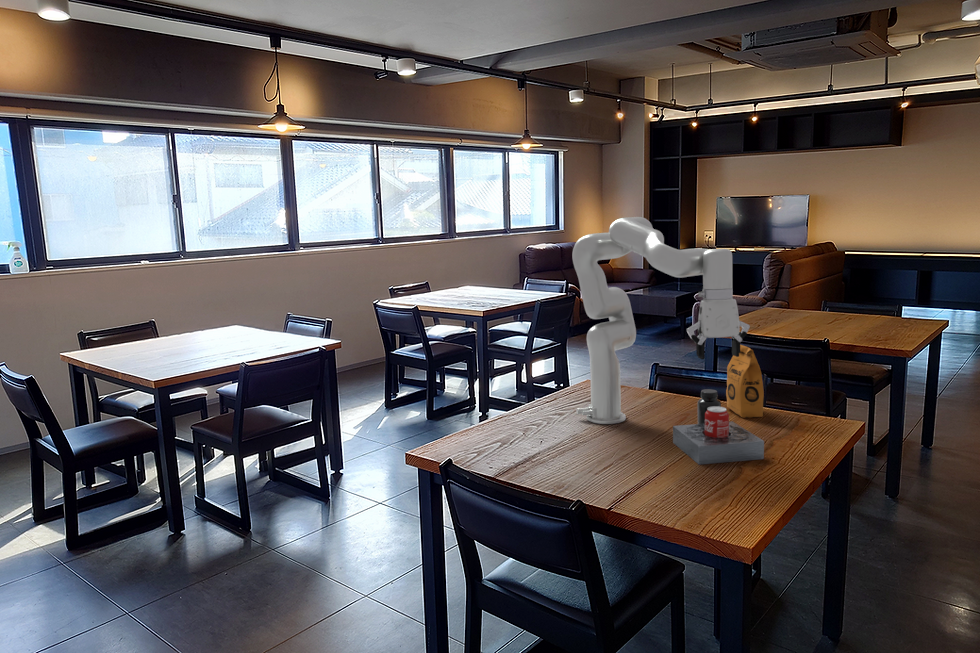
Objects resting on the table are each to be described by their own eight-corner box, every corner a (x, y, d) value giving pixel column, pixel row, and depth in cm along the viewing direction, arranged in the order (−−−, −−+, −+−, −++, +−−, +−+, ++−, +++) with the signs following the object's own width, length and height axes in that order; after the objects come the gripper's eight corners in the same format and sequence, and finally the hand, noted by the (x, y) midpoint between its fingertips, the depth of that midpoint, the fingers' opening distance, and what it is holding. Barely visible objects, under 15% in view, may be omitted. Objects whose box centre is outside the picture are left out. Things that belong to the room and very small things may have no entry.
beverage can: (708, 445, 194) (709, 404, 192) (731, 449, 190) (732, 407, 188) (701, 452, 189) (701, 410, 187) (724, 456, 185) (724, 413, 183)
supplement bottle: (718, 425, 211) (718, 387, 209) (723, 432, 204) (723, 393, 202) (695, 425, 212) (695, 388, 210) (699, 433, 205) (700, 394, 203)
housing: (698, 464, 180) (698, 446, 179) (672, 442, 198) (672, 425, 197) (763, 459, 182) (764, 441, 181) (732, 437, 200) (732, 421, 199)
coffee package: (736, 419, 217) (737, 351, 213) (723, 408, 229) (723, 343, 225) (767, 418, 217) (769, 349, 213) (752, 407, 229) (754, 342, 225)
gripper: (691, 298, 180) (692, 362, 183) (755, 294, 182) (755, 357, 184) (681, 295, 188) (682, 356, 190) (742, 291, 189) (742, 352, 191)
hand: (718, 357), depth 187 cm, fingers open, 9 cm apart
